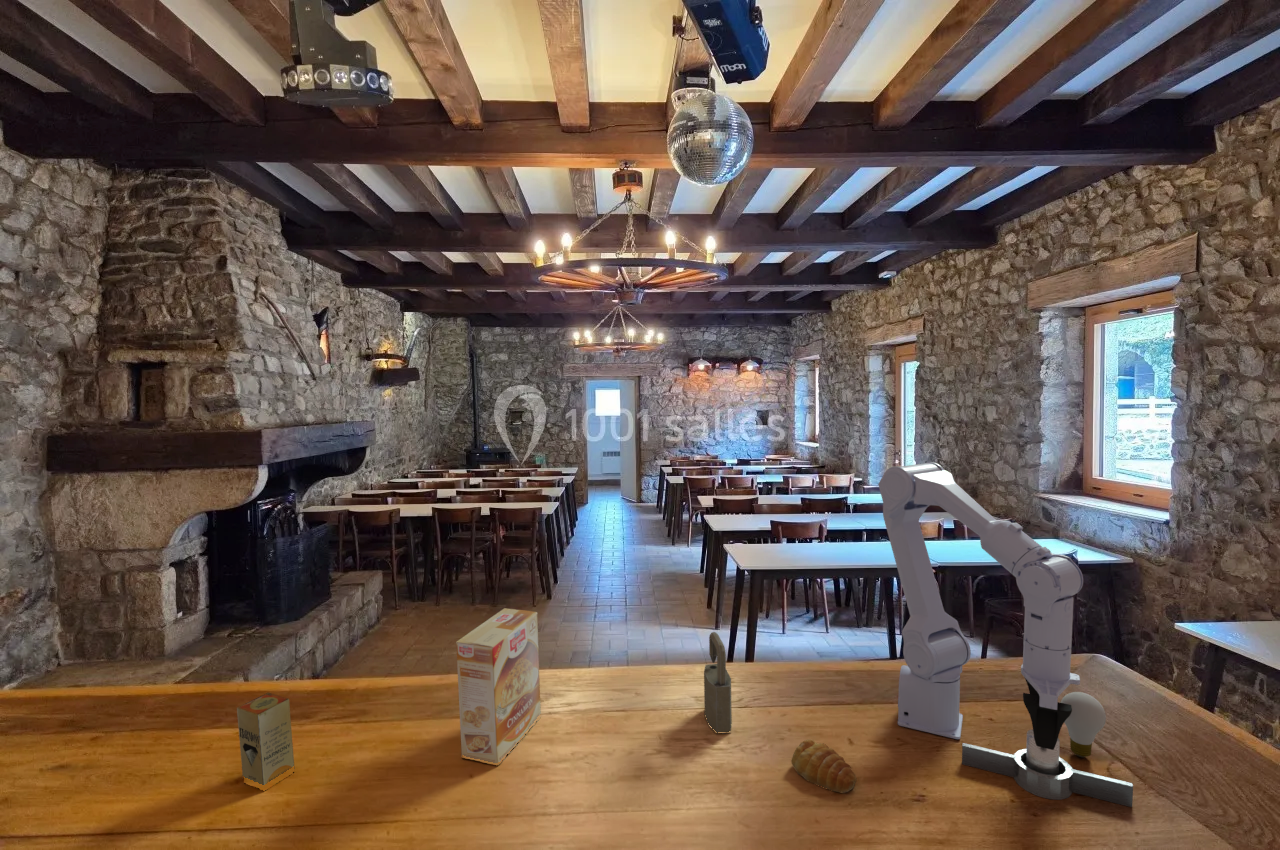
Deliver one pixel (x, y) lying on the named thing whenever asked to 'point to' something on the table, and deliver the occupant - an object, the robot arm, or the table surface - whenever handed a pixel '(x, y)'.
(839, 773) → the pastry
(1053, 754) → the hinge pin
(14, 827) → the table surface
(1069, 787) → the hinge
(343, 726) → the table surface
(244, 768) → the shoe polish box
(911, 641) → the robot arm
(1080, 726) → the light bulb
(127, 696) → the table surface
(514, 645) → the coffeecake box
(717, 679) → the padlock
